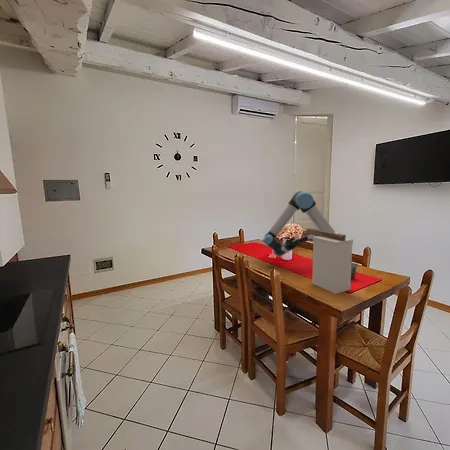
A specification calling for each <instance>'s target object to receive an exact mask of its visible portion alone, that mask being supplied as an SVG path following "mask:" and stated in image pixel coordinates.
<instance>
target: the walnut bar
mask: <svg viewBox="0 0 450 450" xmlns="http://www.w3.org/2000/svg"><path fill="white" fill-rule="evenodd" d="M305 233H306V234H307V235H309V234H312V235H315V237H316V236H321V237H326V238H330V239H335V240H339V241H345V239H346V238H347V236H346V234H342V233H339V234H337V233H332V232H326V231H321V230H318V229H317V228H316V229H315V228H306V232H305Z"/></svg>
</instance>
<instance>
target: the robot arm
mask: <svg viewBox="0 0 450 450" xmlns="http://www.w3.org/2000/svg"><path fill="white" fill-rule="evenodd" d="M299 210H300V211H301V212H302V213H303V214H306V215H307V217H308V218H309V219H310V221H311V222H312V224H313V225H314V226H315V227H316V229H317V230H321V231H326V232H332V233H337V234H340V233H339V232H338V231H335V229H334V228H333V227H332V225H331V224H330V223H329V221H328V220H327V219H326V218H325V216H324V215H323V213H322V212H321V211H320V210H319V209H318V207H317V202H316V201H315V199H314V197H313V195H312V194H311V193H310V192H307V191H302V190H301V191H297V192H295V193H294V194H293V196H292V197H291V199H290V200H289V202H288V204H287V207H286V208H285V209H284V210H283V212H282V213H281V215H280V216H279V217H278V219H277V220H276V221H275V223H274V224H273V225H272V226H271V228H270V229H269V231H268V232H266V233H265V235H264V238H263V239H262V242H263V243H264V244H265V245H266V246H267V247H269V248H270V249H271V250H273V253H274V255H275V256H276V257H282V256H284V255H285V254H288V253H290V252H291V251H292V250H294V249H296V247H297V246H298V245H301V244H303V243H306V242H309V241H311V240H312V239H313V237H316V235H312V234H307V235H306V236H304V237H301V238H300V237H299V234H295V235H293V237H291V238H289V239H288V238H287V239H286V240H285V241H284V242H282V243H281V242H280V241H278V240H277V239H276V238H277V237H278V236H279V234H280V233H281V232H282V230H284V228H285V227H286V226H287V224H288V223H289V221H290V220H291V219H292V217H293V216H294V215H295V213H296V212H298V211H299Z"/></svg>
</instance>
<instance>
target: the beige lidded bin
mask: <svg viewBox="0 0 450 450" xmlns="http://www.w3.org/2000/svg"><path fill="white" fill-rule="evenodd" d="M312 243H313V244H312V245H313V246H312V280H311V281H312V285H315V286H317V287H318V288H319V287H320V288H322V289H324V290H325V291H326V290H327V291H328V292H330V293H333V294H335V295H336V294H340V293H344V292H347V291H351V282H352V281H351V280H352V279H351V264H352V259H353V258H352V257H353V243H354V239H353V238H352V239H351V238H347V237H346V239H345V241H339V240H335V239H330V238H326V237H321V236H316V235H315V236H314V237H313V238H312Z"/></svg>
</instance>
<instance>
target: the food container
mask: <svg viewBox="0 0 450 450" xmlns="http://www.w3.org/2000/svg"><path fill="white" fill-rule="evenodd" d="M357 268H358V264H357V263H351V280H352V279H355V278H356V272H357Z"/></svg>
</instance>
